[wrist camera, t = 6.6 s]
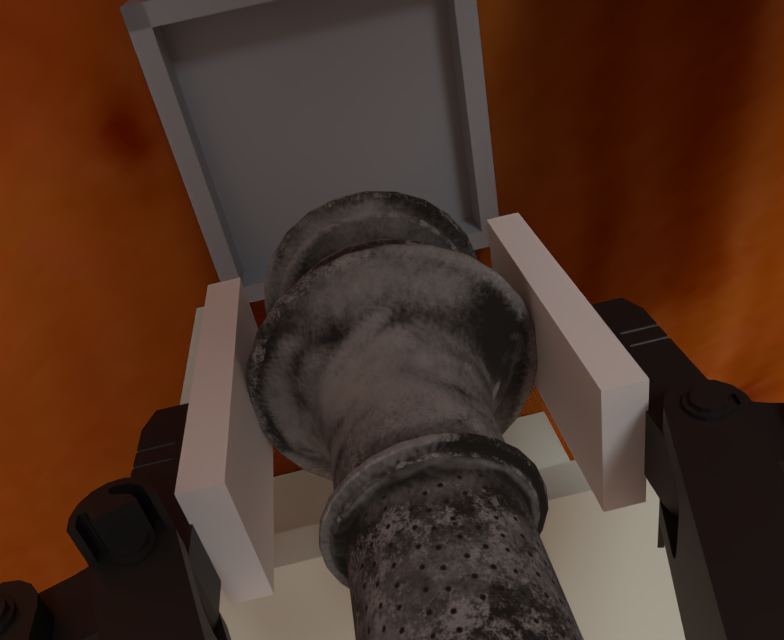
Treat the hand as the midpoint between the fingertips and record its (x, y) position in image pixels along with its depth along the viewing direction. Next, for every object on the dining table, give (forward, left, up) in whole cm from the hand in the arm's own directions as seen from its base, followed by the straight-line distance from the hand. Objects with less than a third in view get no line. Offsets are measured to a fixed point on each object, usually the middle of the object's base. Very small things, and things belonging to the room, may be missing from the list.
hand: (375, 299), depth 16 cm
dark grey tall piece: (0, 0, -1) cm, 1 cm away
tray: (-3, 0, -14) cm, 14 cm away
